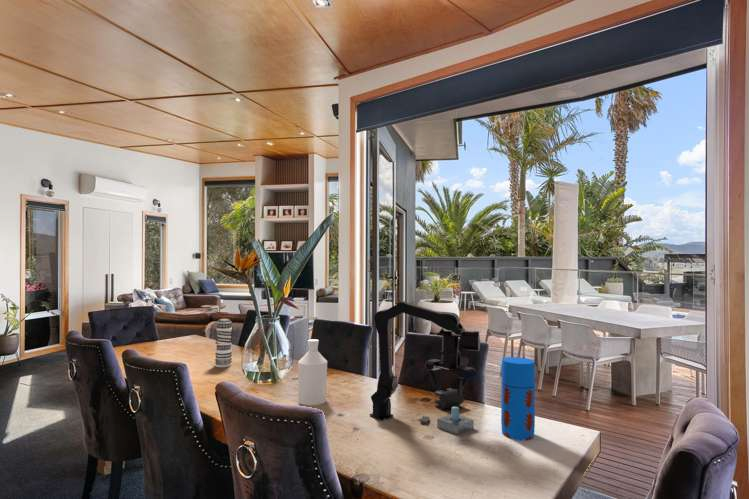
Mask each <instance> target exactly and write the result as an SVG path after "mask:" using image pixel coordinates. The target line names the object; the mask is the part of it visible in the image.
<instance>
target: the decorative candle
mask: <svg viewBox="0 0 749 499" xmlns="http://www.w3.org/2000/svg"><path fill="white" fill-rule="evenodd" d="M232 329H233V327H232V321H231V319H229V318H220V319H218V320H217V321H216V329H215V331H214V333H215V345H216V349H215V358H214V361H215V363H214V364H215V365H214V366H215V367H216V368H228V367H231V366H232V363H233V361H232V359H233V358H232V357H233V356H232V355H233V352H232V344H233V341H232V340H233V338H232V336H234V334H233V333H234V331H232Z"/></svg>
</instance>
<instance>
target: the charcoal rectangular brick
mask: <svg viewBox="0 0 749 499" xmlns="http://www.w3.org/2000/svg"><path fill="white" fill-rule="evenodd" d="M429 422H430V416H427V415H425V416H424V415H423V416H422V417H421V420H420V425H428V424H429Z"/></svg>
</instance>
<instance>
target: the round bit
mask: <svg viewBox="0 0 749 499" xmlns="http://www.w3.org/2000/svg"><path fill="white" fill-rule="evenodd" d="M451 414H452V418H451V420H452V421H459V415H460V408H459V406H455V407H451Z"/></svg>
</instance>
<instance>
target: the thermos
mask: <svg viewBox="0 0 749 499" xmlns="http://www.w3.org/2000/svg"><path fill="white" fill-rule="evenodd" d="M535 364H536V363H535V361H534V360H533V359H530V358H526V357H521V356H520V357H518V356H513V357H512V356H508V357H503V358H502V360H501V392H500V394H501V400H500V401H501V410H500V412H501V417H500V419H501V420H500V424H501V434H502V435H503V436H504V437H506V438H508V439H510V440H516V441H530V440H533V439H534V438H535V426H536V420H535V419H536V415H535V414H536V412H535V410H536V400H535V399H536V365H535Z"/></svg>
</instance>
